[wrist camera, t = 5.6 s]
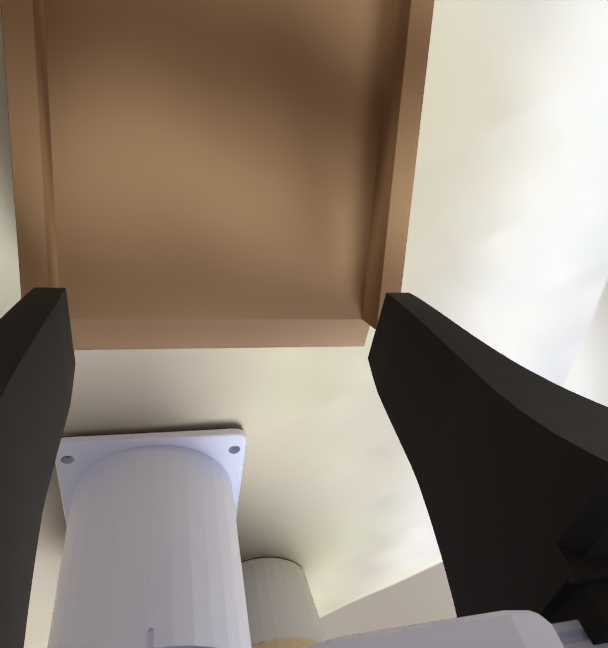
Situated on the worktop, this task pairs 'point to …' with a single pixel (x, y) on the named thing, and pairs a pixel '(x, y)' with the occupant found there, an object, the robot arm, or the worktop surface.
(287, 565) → the coffee cup
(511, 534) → the robot arm
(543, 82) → the worktop surface
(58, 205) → the ramp
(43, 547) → the worktop surface
